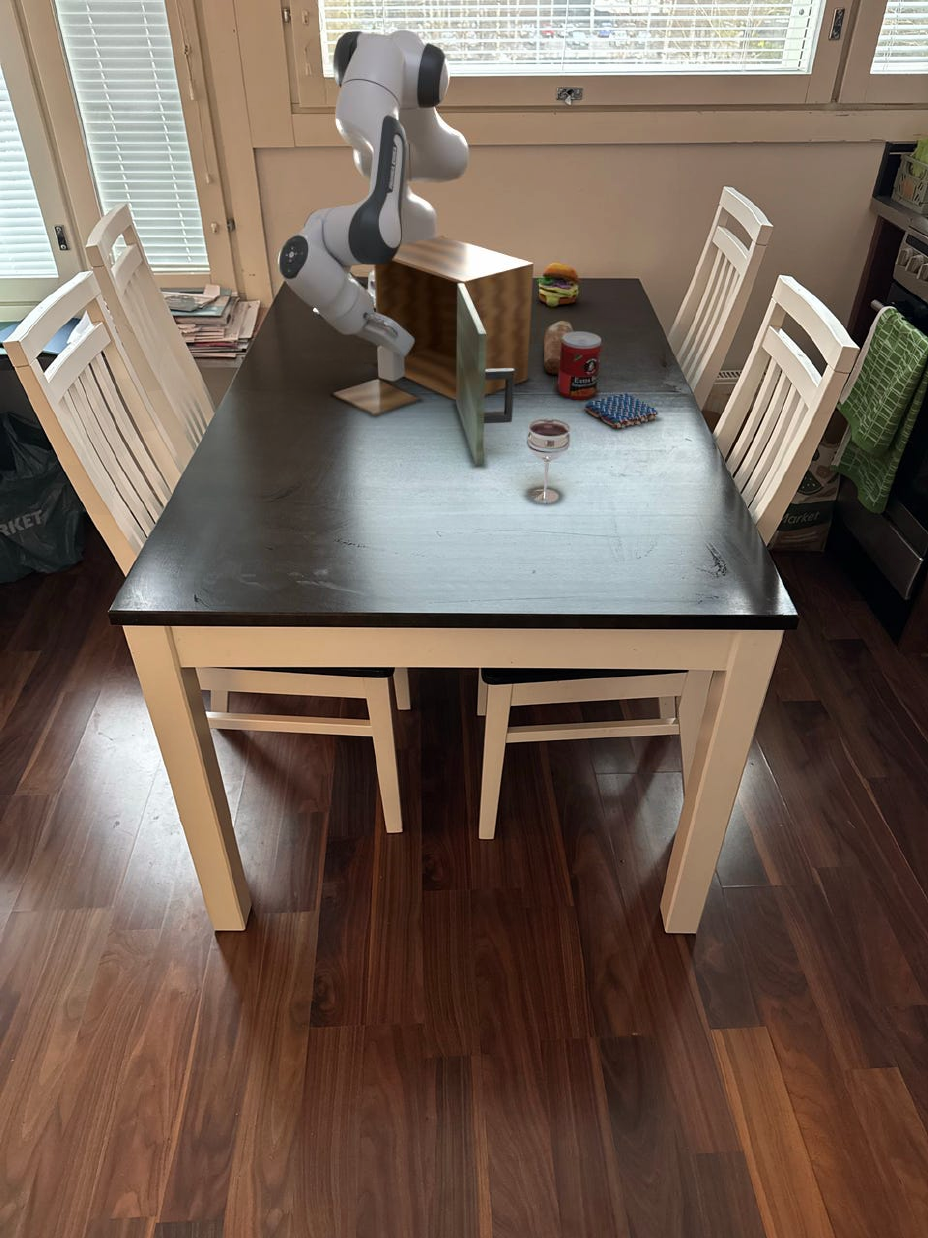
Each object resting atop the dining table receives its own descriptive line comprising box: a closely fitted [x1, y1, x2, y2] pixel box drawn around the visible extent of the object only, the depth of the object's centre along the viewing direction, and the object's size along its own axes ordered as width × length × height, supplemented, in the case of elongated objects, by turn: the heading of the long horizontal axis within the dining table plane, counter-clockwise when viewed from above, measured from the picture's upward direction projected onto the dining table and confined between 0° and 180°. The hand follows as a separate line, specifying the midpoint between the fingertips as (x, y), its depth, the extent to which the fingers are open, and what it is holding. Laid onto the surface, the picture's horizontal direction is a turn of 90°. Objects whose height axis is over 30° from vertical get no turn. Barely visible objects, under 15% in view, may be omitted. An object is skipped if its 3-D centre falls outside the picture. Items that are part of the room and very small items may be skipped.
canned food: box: [557, 330, 602, 401], centre depth 180 cm, size 8×8×11 cm
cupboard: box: [373, 235, 534, 401], centre depth 184 cm, size 18×26×23 cm
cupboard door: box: [455, 283, 515, 467], centre depth 161 cm, size 6×26×23 cm, turn 8°
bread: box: [543, 320, 575, 375], centre depth 196 cm, size 6×19×6 cm, turn 169°
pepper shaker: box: [376, 346, 404, 382], centre depth 177 cm, size 4×4×10 cm
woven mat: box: [584, 392, 659, 429], centre depth 174 cm, size 10×11×2 cm
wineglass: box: [526, 418, 572, 504], centre depth 146 cm, size 7×7×12 cm
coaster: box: [333, 378, 420, 417], centre depth 180 cm, size 13×11×1 cm
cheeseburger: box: [537, 262, 581, 308], centre depth 228 cm, size 10×11×10 cm
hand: (393, 348), depth 177 cm, fingers closed on pepper shaker, 4 cm apart
